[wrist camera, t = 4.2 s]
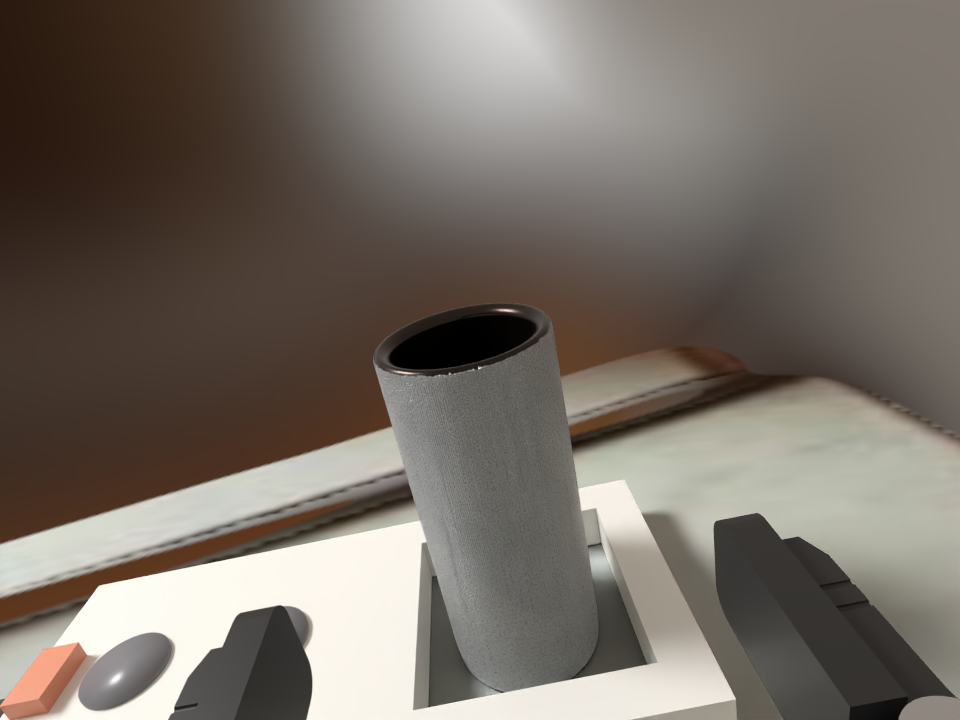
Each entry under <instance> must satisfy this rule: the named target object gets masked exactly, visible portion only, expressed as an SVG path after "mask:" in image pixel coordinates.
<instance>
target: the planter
mask: <svg viewBox="0 0 960 720" xmlns="http://www.w3.org/2000/svg"><path fill="white" fill-rule="evenodd" d="M374 365H375V369H376V372H377V376H378V379H379V383H380V386H381V390H382V393H383V396H384V400H385V403H386V406H387V409H388V413H389V417H390V420H391V424H392V427H393V430H394V434H395V437H396V440H397V444H398V447H399V451H400V454H401V457H402V461H403V464H404V467H405V471H406V474H407V478H408V481H409V484H410V488H411V491H412V495H413V498H414V501H415V505H416V508H417V511H418V515H419V518H420V522H421V525H422V528H423V532H424V535H425V538H426V542H427V545H428V549H429V552H430V555H431V559H432V562H433V566H434V569H435V572H436V576H437V579H438V582H439V586H440V589H441V593H442V596H443V599H444V603H445V606H446V609H447V613H448V616H449V620H450V623H451V626H452V630H453V633H454V637H455V640H456V643H457V646H458V648H459V651H460V654H461V656H462V659H463V661H464V663H465V665H466V667H467V668H468V669H469V671H470V672H471V673H472V674H473V675H474V676H475V677H476V678H477V679H478V680H480V681H481V682H482V683H484V684H486V685H487V686H489V687H491V688H494V689H496V690H499V691H503V692H510V691H515V690H520V689H525V688H530V687H536V686H541V685H546V684H551V683H556V682H561V681H566V680H569V679H571V678H572V677H574V676H575V675H576V674H577V673H578V672H579V671H580V670H581V669H582V668H583V667H584V666H585V665H586V664H587V662H588V661H589V659H590V658H591V656H592V654H593V652H594V650H595V647H596V644H597V641H598V635H599V622H598V610H597V604H596V598H595V591H594V585H593V579H592V573H591V566H590V560H589V554H588V547H587V541H586V535H585V529H584V522H583V516H582V510H581V504H580V497H579V491H578V485H577V478H576V472H575V466H574V460H573V453H572V447H571V441H570V434H569V428H568V422H567V416H566V409H565V403H564V397H563V391H562V384H561V378H560V372H559V365H558V359H557V353H556V347H555V341H554V335H553V328H552V323H551V320H550V318H549V317H548V316H547V315H546V313H544V312H543V311H541V310H540V309H537V308H535V307H532V306H528V305H523V304H515V303H489V304H479V305H472V306H466V307H461V308H456V309H452V310H447V311H444V312H440V313H437V314H434V315H431V316H428V317H425V318H423V319H420V320H417V321H415V322H413V323H410V324H408V325H406V326H404V327H402V328H400V329H399V330H397V331H395V332H394V333H392V334H391V335H390V336H388V337H387V338H386V339H385V340H384V341H383V342H382V343H381V344H380V345H379V346H378V348H377V349H376V352H375V354H374Z"/></svg>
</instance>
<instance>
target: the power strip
mask: <svg viewBox="0 0 960 720" xmlns="http://www.w3.org/2000/svg"><path fill="white" fill-rule="evenodd" d="M578 491H579V497H580V504H581V510H582V516H583V522H584V529H585V535H586V541H587V546H588V545H593V544H598V543H601V544H602V546H603V549H604V552H605V554H606V557H607V559H608V562H609V565H610V567H611V570H612V573H613V575H614V578H615V581H616V583H617V586H618V589H619V591H620V594H621V596H622V599H623V602H624V604H625V607H626V610H627V612H628V615H629V618H630V620H631V623H632V626H633V628H634V631H635V633H636V636H637V639H638V641H639V644H640V647H641V649H642V652H643V655H644V657H645V660H646V663H647V665H643V666H638V667H633V668H628V669H623V670H617V671H612V672H607V673H602V674H597V675H592V676H587V677H582V678H577V679H571V680H566V681H561V682H556V683H551V684H546V685H541V686H536V687H530V688H525V689H520V690H515V691H510V692H505V693H500V694H495V695H490V696H484V697H479V698H474V699H469V700H464V701H459V702H454V703H449V704H444V705H438V706H433V707H428V704H429V665H430V627H431V588H432V577H433V576H436V572H435V569H434V566H433V562H432V559H431V555H430V552H429V549H428V545H427V542H426V538H425V535H424V532H423V528H422V525H421V522H420V521H417V522H412V523H407V524H402V525H397V526H392V527H387V528H382V529H377V530H372V531H367V532H362V533H357V534H352V535H347V536H343V537H338V538H333V539H328V540H323V541H318V542H313V543H308V544H303V545H298V546H293V547H288V548H283V549H278V550H273V551H268V552H263V553H259V554H254V555H249V556H244V557H239V558H234V559H229V560H224V561H219V562H214V563H209V564H204V565H199V566H194V567H189V568H184V569H180V570H175V571H170V572H165V573H160V574H155V575H150V576H145V577H140V578H135V579H130V580H125V581H120V582H115V583H110V584H105V585H101V586H99V587H98V588H97V589H96V591H95V592H94V593H93V595H92V596H91V597H90V599H89V600H88V601H87V603H86V604H85V605H84V607H83V608H82V609H81V611H80V612H79V613H78V615H77V616H76V617H75V619H74V620H73V621H72V623H71V624H70V625H69V627H68V628H67V630H66V631H65V632H64V634H63V635H62V636H61V638H60V639H59V640H58V642H57V643H56V644H55V646H54V647H52V648H47V649H43V650H42V651H41V653H40V654H39V655H38V657H37V658H36V659H35V661H34V662H33V663H32V664H31V666H30V667H29V668H28V670H27V671H26V672H25V674H24V675H23V676H22V678H21V679H20V680H19V681H18V683H17V684H16V685H15V687H14V688H13V689H12V691H11V692H10V693H9V695H8V696H7V697H6V698H5V699H1V700H0V720H168V719H169V717H170V715H171V714H172V713H174V706H175V704H176V702H177V700H178V698H179V695H180V693H181V691H182V689H183V687H184V685H185V682H186V680H187V678H188V677H189V675H190V674H191V673H192V672H193V671H194V669H195V668H196V667H197V666H198V664H199V663H200V662H201V661H202V660H203V658H204V657H205V656H206V655H207V654H208V652H209V651H210V650H211V649H215V648H220V647H223V644H224V642H225V639H226V637H227V635H228V632H229V630H230V628H231V625H232V623H233V621H234V619H235V617H236V616H237V615H238V614H239V613H242V612H247V611H252V610H257V609H262V608H267V607H272V606H277V605H282V606H283V607H285V609H286V610H287V612H288V614H289V616H290V619H291V621H292V623H293V625H294V628H295V630H296V632H297V635H298V637H299V639H300V641H301V644H302V646H303V648H304V650H305V653H306V655H307V657H308V660H309V662H310V666H311V671H312V681H313V687H312V697H311V702H310V707H309V711H308V715H307V720H737V710H736V698H735V696H734V694H733V692H732V690H731V688H730V686H729V684H728V682H727V680H726V678H725V677H724V675H723V673H722V671H721V669H720V667H719V665H718V663H717V661H716V659H715V657H714V655H713V653H712V651H711V649H710V647H709V645H708V643H707V641H706V639H705V637H704V635H703V633H702V631H701V629H700V628H699V626H698V624H697V622H696V620H695V618H694V616H693V614H692V612H691V610H690V608H689V606H688V604H687V602H686V600H685V598H684V596H683V594H682V592H681V590H680V588H679V586H678V584H677V582H676V581H675V579H674V577H673V575H672V573H671V571H670V569H669V567H668V565H667V563H666V561H665V559H664V557H663V555H662V553H661V551H660V549H659V547H658V545H657V543H656V541H655V539H654V537H653V535H652V533H651V532H650V530H649V528H648V526H647V524H646V522H645V520H644V518H643V516H642V514H641V512H640V510H639V508H638V506H637V504H636V502H635V500H634V498H633V496H632V494H631V492H630V490H629V488H628V486H627V484H626V483H625V481H624V480H619V481H614V482H609V483H604V484H599V485H594V486H589V487H584V488H580V489H578Z"/></svg>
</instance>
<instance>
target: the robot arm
mask: <svg viewBox="0 0 960 720" xmlns="http://www.w3.org/2000/svg"><path fill="white" fill-rule="evenodd" d="M714 548H715V569H716V586H717V592H718V596H719V600H720V603H721V606H722V609H723V611H724V614H725V616H726V618H727V620H728V622H729V624H730V625H731V627H732V629H733V631H734V633H735V634H736V636H737V638H738V640H739V641H740V643H741V645H742V647H743V648H744V650H745V652H746V654H747V655H748V657H749V659H750V661H751V662H752V664H753V666H754V668H755V670H756V671H757V673H758V675H759V677H760V678H761V680H762V682H763V684H764V685H765V687H766V689H767V691H768V692H769V694H770V696H771V698H772V699H773V701H774V703H775V705H776V706H777V708H778V710H779V712H780V714H781V715H782V717H783V719H784V720H960V699H958V698H957V697H955V696H954V695H953V694H952V693H951V692H950V691H949V690H948V689H947V688H946V687H945V686H944V685H943V683H942V682H941V681H940V680H939V679H938V678H937V677H936V676H935V674H934V673H933V672H932V671H931V670H930V669H929V668H928V667H927V665H926V664H925V663H924V662H923V661H922V660H921V659H920V658H919V656H918V655H917V654H916V653H915V652H914V651H913V650H912V649H911V647H910V646H909V645H908V644H907V643H906V642H905V641H904V639H903V638H902V637H901V636H900V635H899V634H898V633H897V632H896V630H895V629H894V628H893V627H892V626H891V625H890V624H889V623H888V621H887V620H886V619H885V618H884V617H883V616H882V615H881V614H880V612H879V611H878V610H877V609H876V608H875V607H874V606H871V605H870V604H869V601H868V599H867V598H866V597H865V596H864V594H863V593H862V592H861V591H860V590H859V589H858V588H857V587H856V585H855V584H854V585H852V583H851V581H850V579H849V578H848V576H847V575H846V574H845V573H844V572H843V571H842V570H841V569H840V567H839V566H838V565H837V564H836V563H835V562H834V561H833V560H832V558H831V557H830V556H829V555H828V554H826V553H824V552H823V551H821V550H819V549H818V548H816V547H815V546H813V545H811V544H810V543H808V542H806V541H805V540H803V539H801V538H800V537H794V538H789V539H784V540H782V539H781V538H780V537H779V535H778V534H777V533H776V532H775V531H774V529H773V528H772V527H771V526H770V524H769V523H768V522H767V521H766V519H765V518H764V517H763V516H762V515H760V514H758V513H755V514H750V515H744V516H739V517H734V518H729V519H724V520H719V521H716V522H715V524H714ZM312 687H313V681H312V671H311V666H310V662H309V660H308V657H307V655H306V653H305V650H304V648H303V646H302V644H301V641H300V639H299V637H298V635H297V632H296V630H295V628H294V625H293V623H292V621H291V619H290V616H289V614H288V612H287V610H286V609H285V607H283V606H282V605H277V606H272V607H267V608H262V609H257V610H252V611H247V612H242V613H239V614H238V615H237V616H236V617H235V619H234V621H233V623H232V625H231V628H230V630H229V632H228V635H227V637H226V639H225V642H224V644H223V647H220V648H215V649H211V650H210V651H209V652H208V654H207V655H206V656H205V657H204V658H203V660H202V661H201V662H200V663H199V664H198V666H197V667H196V668H195V669H194V671H193V672H192V673H191V674H190V675H189V677H188V678H187V680H186V682H185V685H184V687H183V689H182V691H181V693H180V695H179V698H178V700H177V702H176V704H175V706H174V713H172V714H171V715H170V717H169V719H168V720H307V715H308V711H309V707H310V702H311V697H312Z"/></svg>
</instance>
